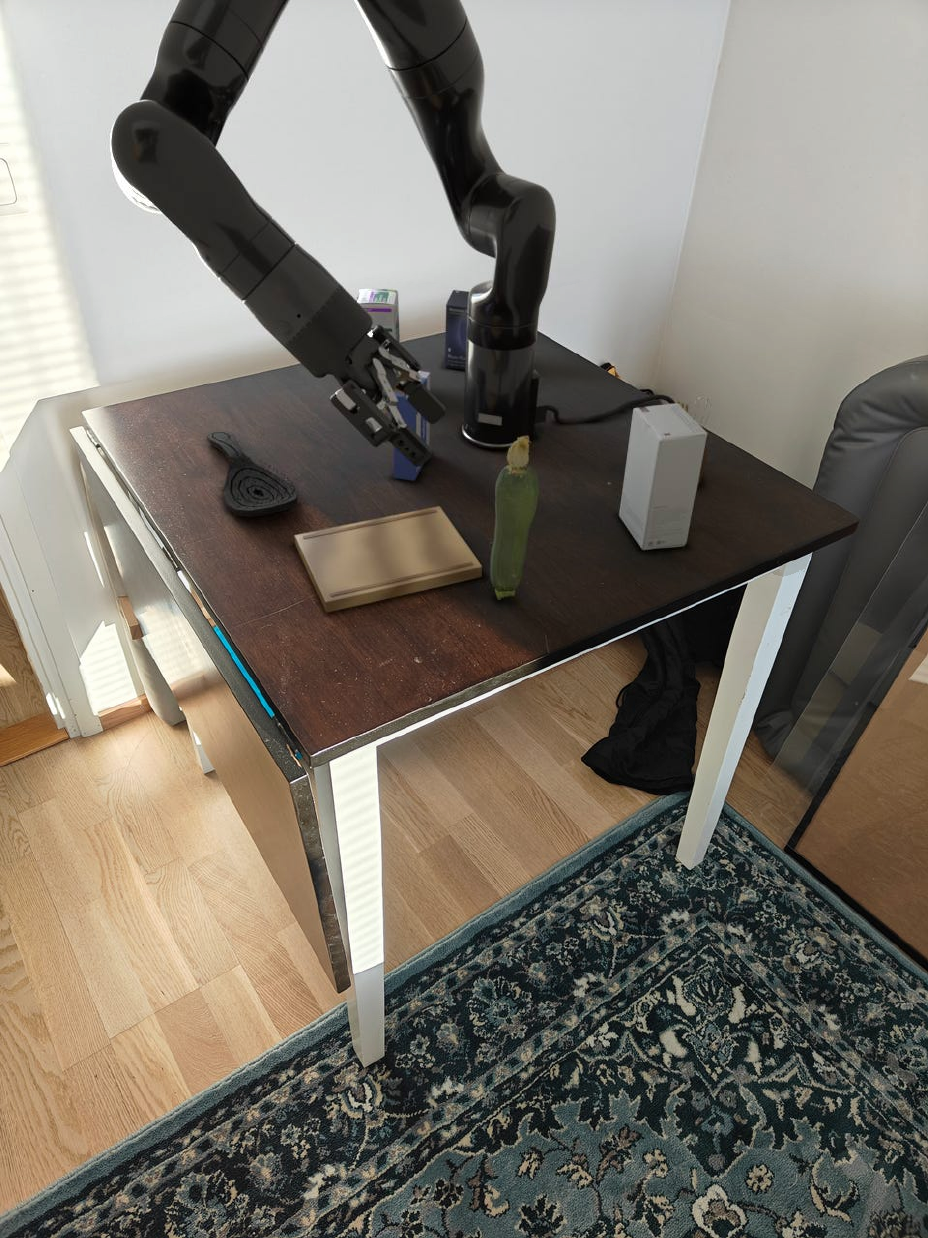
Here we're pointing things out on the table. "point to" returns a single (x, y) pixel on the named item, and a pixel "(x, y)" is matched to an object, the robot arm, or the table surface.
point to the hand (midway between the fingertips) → (433, 438)
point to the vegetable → (513, 518)
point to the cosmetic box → (661, 475)
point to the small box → (456, 330)
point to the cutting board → (385, 558)
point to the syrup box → (381, 309)
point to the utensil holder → (706, 438)
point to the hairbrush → (251, 481)
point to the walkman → (418, 425)
